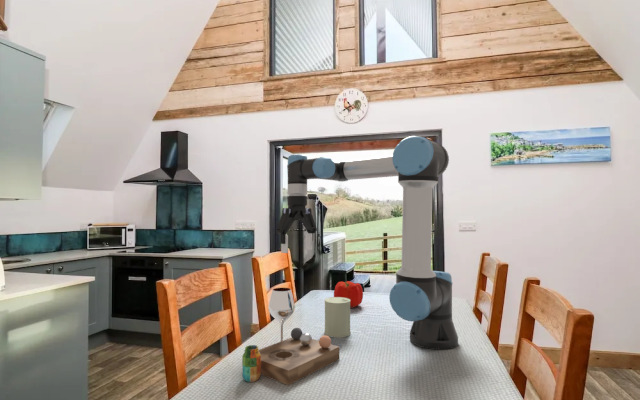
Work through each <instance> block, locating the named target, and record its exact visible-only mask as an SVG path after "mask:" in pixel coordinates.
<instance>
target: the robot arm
mask: <svg viewBox="0 0 640 400" xmlns="http://www.w3.org/2000/svg"><path fill="white" fill-rule="evenodd" d="M449 161H450V156H449V152H448V151H447V150H446V147H444V146H443V145H442V144H440V143H439V142H435V141H433V140H430V139H428V138H426V137H423V136H417V135H411V136H408V137H405V138H403V139H402V140H400V141H399V143H398V144H397V145H396V146H395V148H394V150H393V152H392V154H390V155H383V156H382V155H381V156H374V157H367V158H357V159H349V160H340V161H336V160H333V159H332V158H331V157H328V156H327V157H323V156H320V157H315V158H309V159H308V156H307V155H305V154H300V153H299V154H290V155H289V156H288V157H287V165H286V167H287V195H288V196H287V206H288V207H282V212H281V216H280V219H279V222H278V224H277V227H276V230H275V233H276V234H278V235H279V237H280V239H279V241H280V244H281V245H280V248H281V249H280V250H281V251H280V252H281V254H288V253H289V235H288V232H289V231H290V228H291V227H292V224H293V223H294V222H295V221H300V222H301V223H302V225H303V228H304V229H305V230H306V232H307V233H305V251H313V241H314V234H316V232H317V231H318V228H317V226H316V223H315V220H314V216H313V213H312V208H311V207H308V208H307V207H306V206H308V196H307V195H308V180H327V181H335V182H348V181H350V180H363V179H378V178H379V179H380V178H388V177H390V178H391V177H398V179H397V182H398V184H399V185H400V186H401V187H402V224H401V225H402V227H401V228H402V230H401V233H402V235H401V266H400V268H398V270H397V271H396V273H395V275H396V276H395V284H394V285H393V286H392V288H391V290H390V292H389V298H388V299H389V304H390V306H391V308H392V310H393V311H394V312H395V314H396V315H397V316H398V317H399V318H401V319H402V320H404V321H407V322H412V324H411V326H410V327H411V328H410V331H409V341H410V343H412V344H413V345H416V346H417V347H421V348H425V349H430V350H431V349H432V350H450V349H454V348H456V347H457V346H458V345H459V336H458V333H457V330H456V327H455V325H454V321H453V281H452V280H453V279H452V275H451V273H449V272H446V271H438V270H433V269H432V240H433V239H432V234H433V232H432V231H433V227H432V225H433V190H434V189H433V188H434V187H435V186H437V184H438V183H439V176H441V175H442V174H443V173H444V172H445V171H446V170H447V168H448V165H449V163H450V162H449Z"/></svg>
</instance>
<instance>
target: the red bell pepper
mask: <svg viewBox="0 0 640 400" xmlns="http://www.w3.org/2000/svg"><path fill="white" fill-rule="evenodd" d="M362 287H363V286H362V285H361V283H357V282H356V283H354V282H353V281H350V280H347V281H338V282H337V283H336V285H335V287H334V290H333V297H343V298H348V299H350V300H351V301H350V309H351V308H356V307H357V306H359V305H361V304H362V302H363V297H364V292H363V291H364V290H363V288H362Z"/></svg>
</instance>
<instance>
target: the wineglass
mask: <svg viewBox="0 0 640 400" xmlns="http://www.w3.org/2000/svg"><path fill="white" fill-rule="evenodd" d="M295 304H296V303H295V300H294V296H293V292H292V289H291V288H289V287H274V288H273V289H272V291H271V293H270V298H269V301H268V312H269V314H270V316H271V317H273V318H274V319H275V320H276V321H277V322H278V324H279V331H280V332H279V333H280V335H279V336H280V338H279V340H280V341H279V342H281V341H284V339H283V338H284V335H283V334H284V331H283V330H284V323H285V322H286V321H287V320H288V319H289V318H291V316H292V315H293V314H294V311H295V310H296V309H295V308H296V305H295Z"/></svg>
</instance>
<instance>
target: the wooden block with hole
mask: <svg viewBox="0 0 640 400" xmlns="http://www.w3.org/2000/svg"><path fill="white" fill-rule="evenodd" d="M259 352H260V354H261V373H260V375H262V376H264V377H267V378H268V379H269V378H270V379H272V380H275V381H276V382H279V383H281V384H284V385H286V386H290V385H292V384H294V383H296V382H299V380H302V379H304V378H305V377H308V376H309V375H312V374H314V373H315V372H317V371H320V370H322V369H324V368H325V367H327V366H329V365H331V364H333V363H336V362H337V361H339V360H340V346H338V345H334V344H332V343H331V345H330V346H329V347H328V348H322V347H321V346H320V345H319V339H314V338H312V342H311V344H310V345H308V346H304V345H302V344H301V342H300V339H299V340H294V339H293V338H292V337H289V338H286V339H283V341H281V342H280V341H278V342H276V343H273V344H270V345H268V346H265V347H262V348H260V349H259Z"/></svg>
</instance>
